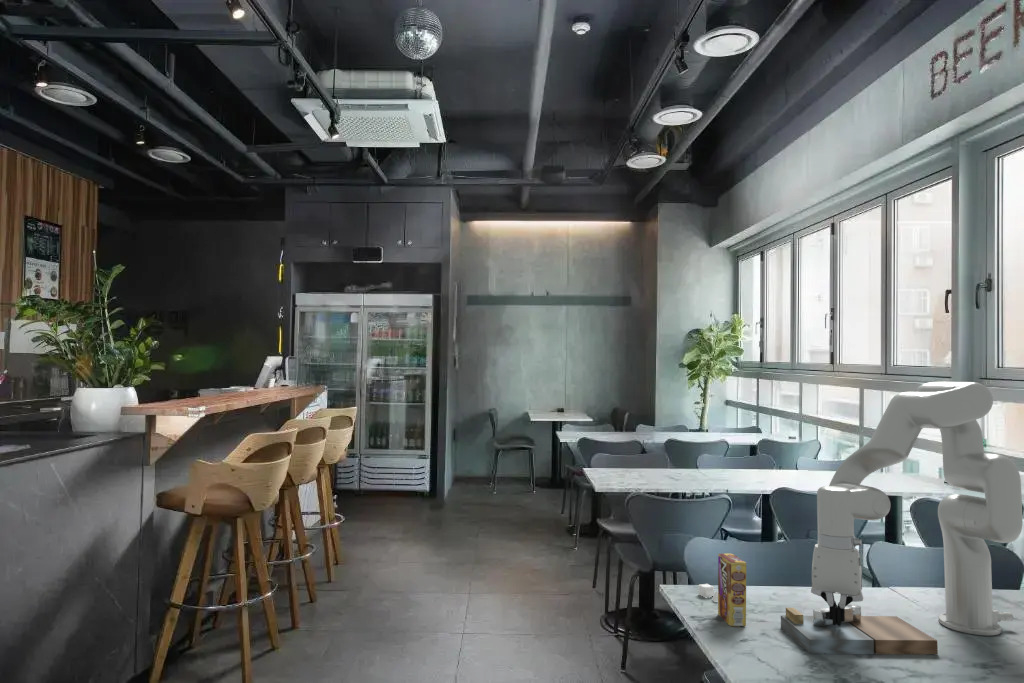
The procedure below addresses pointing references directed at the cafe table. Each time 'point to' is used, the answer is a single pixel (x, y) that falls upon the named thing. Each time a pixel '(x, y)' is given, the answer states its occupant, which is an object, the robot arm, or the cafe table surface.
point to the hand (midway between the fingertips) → (837, 623)
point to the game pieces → (708, 591)
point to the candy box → (732, 589)
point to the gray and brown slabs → (858, 635)
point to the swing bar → (823, 618)
